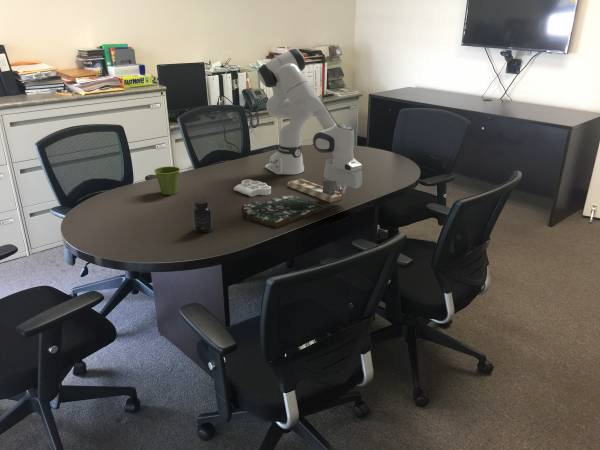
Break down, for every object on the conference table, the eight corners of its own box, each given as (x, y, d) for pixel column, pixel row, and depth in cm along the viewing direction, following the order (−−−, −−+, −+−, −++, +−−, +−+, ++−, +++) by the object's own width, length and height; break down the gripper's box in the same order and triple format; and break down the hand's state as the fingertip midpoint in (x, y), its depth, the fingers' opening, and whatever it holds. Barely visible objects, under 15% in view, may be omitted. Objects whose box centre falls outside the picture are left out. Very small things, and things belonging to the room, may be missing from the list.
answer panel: (287, 186, 249) (287, 180, 247) (298, 183, 253) (298, 177, 252) (330, 202, 228) (331, 196, 227) (341, 199, 232) (342, 193, 231)
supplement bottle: (195, 226, 202) (193, 198, 197) (212, 226, 202) (210, 198, 198) (193, 234, 195) (191, 204, 191) (211, 233, 196) (209, 204, 191)
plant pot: (187, 190, 241) (185, 168, 237) (171, 198, 231) (169, 174, 227) (167, 187, 246) (165, 164, 241) (151, 194, 236) (148, 171, 231)
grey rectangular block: (322, 192, 233) (322, 180, 230) (328, 190, 235) (329, 178, 233) (328, 195, 230) (329, 182, 228) (334, 193, 232) (335, 180, 230)
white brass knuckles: (229, 190, 243) (253, 183, 253) (254, 200, 232) (277, 192, 241) (229, 183, 242) (252, 177, 252) (254, 193, 230) (277, 185, 240)
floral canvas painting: (327, 210, 221) (327, 203, 220) (271, 231, 200) (270, 224, 199) (286, 195, 238) (286, 189, 237) (230, 213, 217) (230, 206, 215)
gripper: (321, 158, 226) (320, 187, 231) (355, 168, 212) (353, 199, 217) (331, 155, 230) (330, 184, 235) (365, 165, 216) (363, 196, 221)
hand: (341, 192), depth 226 cm, fingers closed
